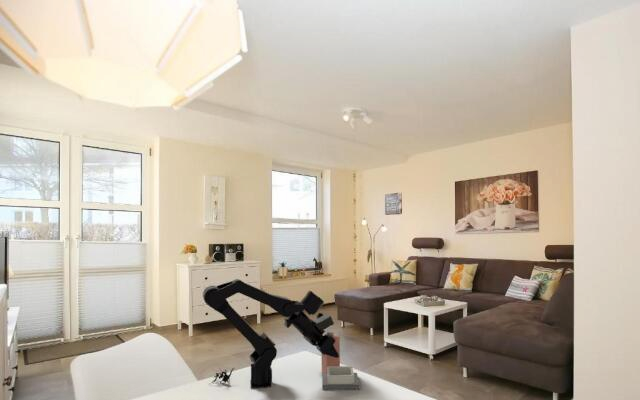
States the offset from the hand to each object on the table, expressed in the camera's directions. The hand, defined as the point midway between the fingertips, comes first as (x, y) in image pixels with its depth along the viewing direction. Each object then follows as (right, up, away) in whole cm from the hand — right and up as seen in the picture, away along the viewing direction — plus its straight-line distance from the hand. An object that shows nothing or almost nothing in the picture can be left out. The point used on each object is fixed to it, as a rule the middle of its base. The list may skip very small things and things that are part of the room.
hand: (334, 353), depth 137 cm
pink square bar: (-1, -7, -1) cm, 7 cm away
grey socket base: (+2, -6, -10) cm, 12 cm away
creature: (-39, -7, -8) cm, 40 cm away
